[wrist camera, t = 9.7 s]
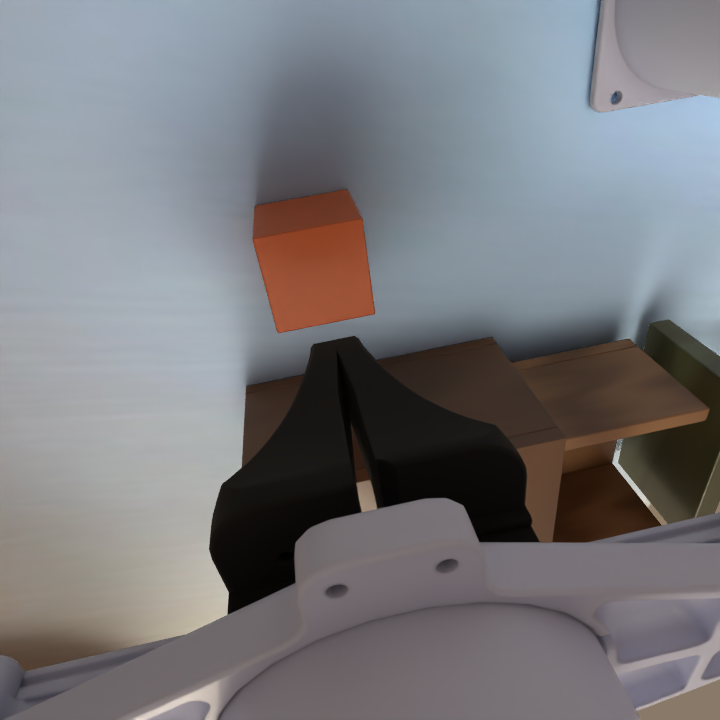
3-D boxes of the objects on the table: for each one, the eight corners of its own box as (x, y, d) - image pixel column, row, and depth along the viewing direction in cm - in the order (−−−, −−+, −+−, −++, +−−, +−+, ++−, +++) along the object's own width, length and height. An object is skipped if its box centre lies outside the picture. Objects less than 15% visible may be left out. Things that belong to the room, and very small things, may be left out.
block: (347, 188, 22) (362, 218, 19) (360, 274, 25) (375, 314, 21) (254, 205, 22) (252, 238, 19) (275, 290, 25) (277, 333, 21)
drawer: (750, 302, 29) (867, 368, 23) (701, 444, 35) (783, 522, 29) (446, 364, 28) (491, 448, 22) (452, 498, 34) (488, 590, 28)
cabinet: (492, 336, 28) (567, 437, 21) (489, 485, 35) (544, 598, 28) (245, 386, 27) (238, 508, 20) (293, 528, 34) (300, 655, 27)
